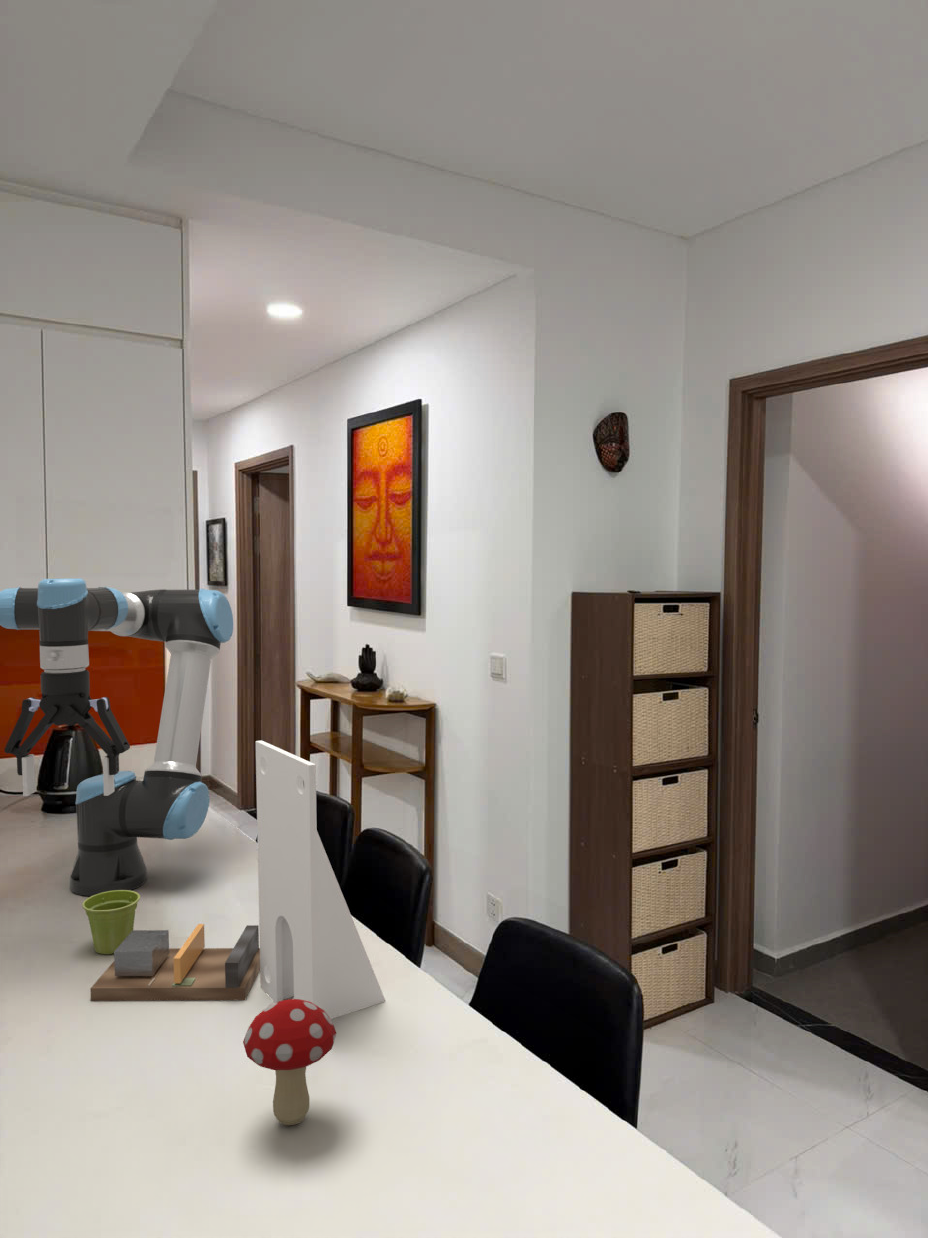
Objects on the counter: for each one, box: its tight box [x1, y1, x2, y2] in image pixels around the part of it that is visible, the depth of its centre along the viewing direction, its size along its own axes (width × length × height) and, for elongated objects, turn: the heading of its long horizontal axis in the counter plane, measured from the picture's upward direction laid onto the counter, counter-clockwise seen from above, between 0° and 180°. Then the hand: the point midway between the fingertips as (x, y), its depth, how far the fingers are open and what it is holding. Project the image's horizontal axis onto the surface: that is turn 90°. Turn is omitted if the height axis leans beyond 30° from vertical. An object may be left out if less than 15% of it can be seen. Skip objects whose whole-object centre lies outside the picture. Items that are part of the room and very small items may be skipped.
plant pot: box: [82, 890, 141, 955], centre depth 157 cm, size 9×9×9 cm
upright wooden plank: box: [173, 923, 206, 983], centre depth 145 cm, size 13×1×4 cm, turn 0°
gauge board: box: [90, 924, 260, 1002], centre depth 145 cm, size 14×24×6 cm, turn 90°
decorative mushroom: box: [242, 998, 337, 1126], centre depth 108 cm, size 11×11×15 cm
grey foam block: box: [113, 929, 170, 976], centre depth 145 cm, size 8×6×4 cm
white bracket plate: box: [255, 740, 386, 1020], centre depth 137 cm, size 20×14×40 cm
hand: (69, 794), depth 151 cm, fingers open, 13 cm apart
